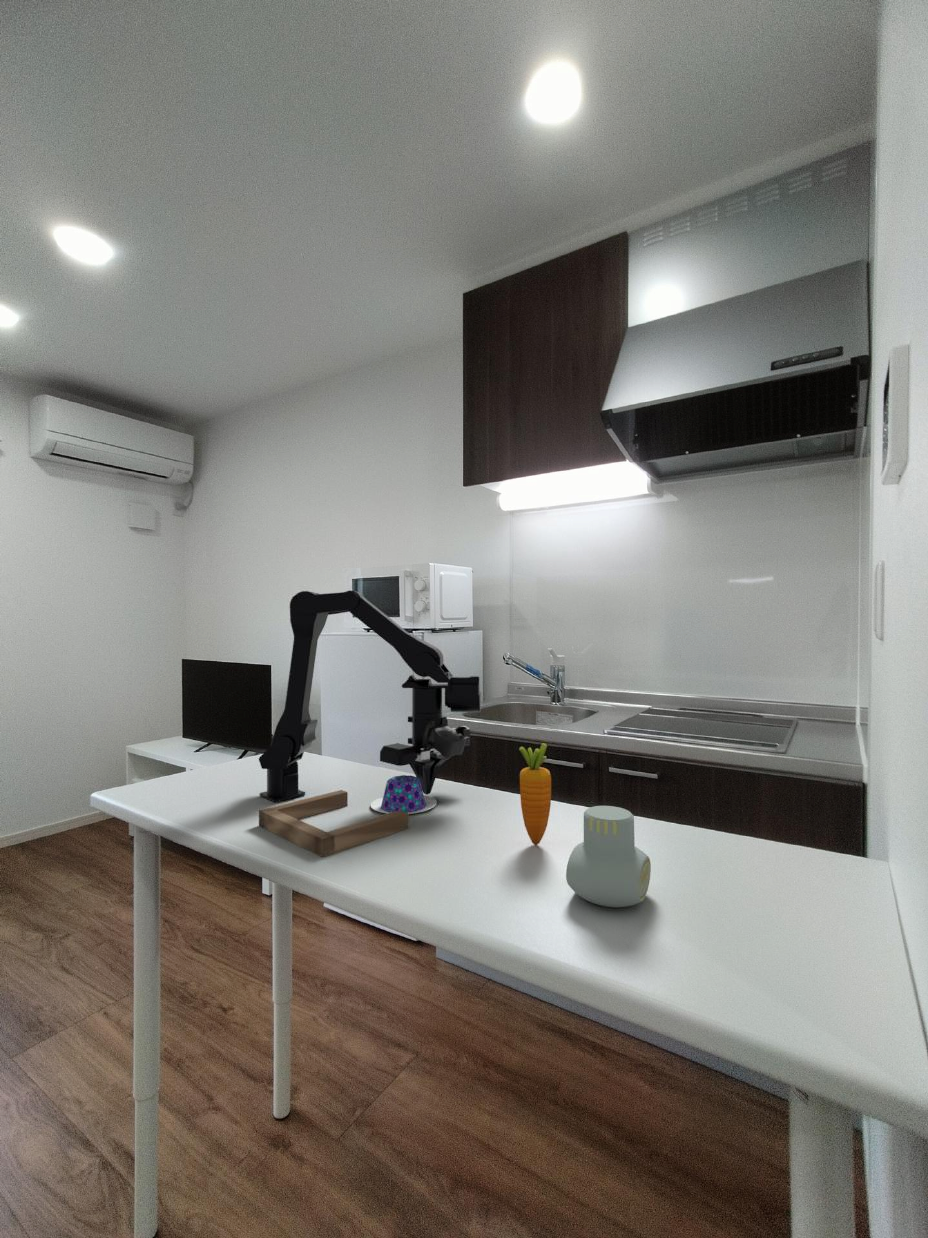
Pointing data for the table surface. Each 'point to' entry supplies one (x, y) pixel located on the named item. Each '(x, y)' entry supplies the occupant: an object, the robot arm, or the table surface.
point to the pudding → (403, 796)
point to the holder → (326, 843)
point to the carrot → (535, 793)
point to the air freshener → (609, 860)
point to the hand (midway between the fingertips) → (427, 793)
